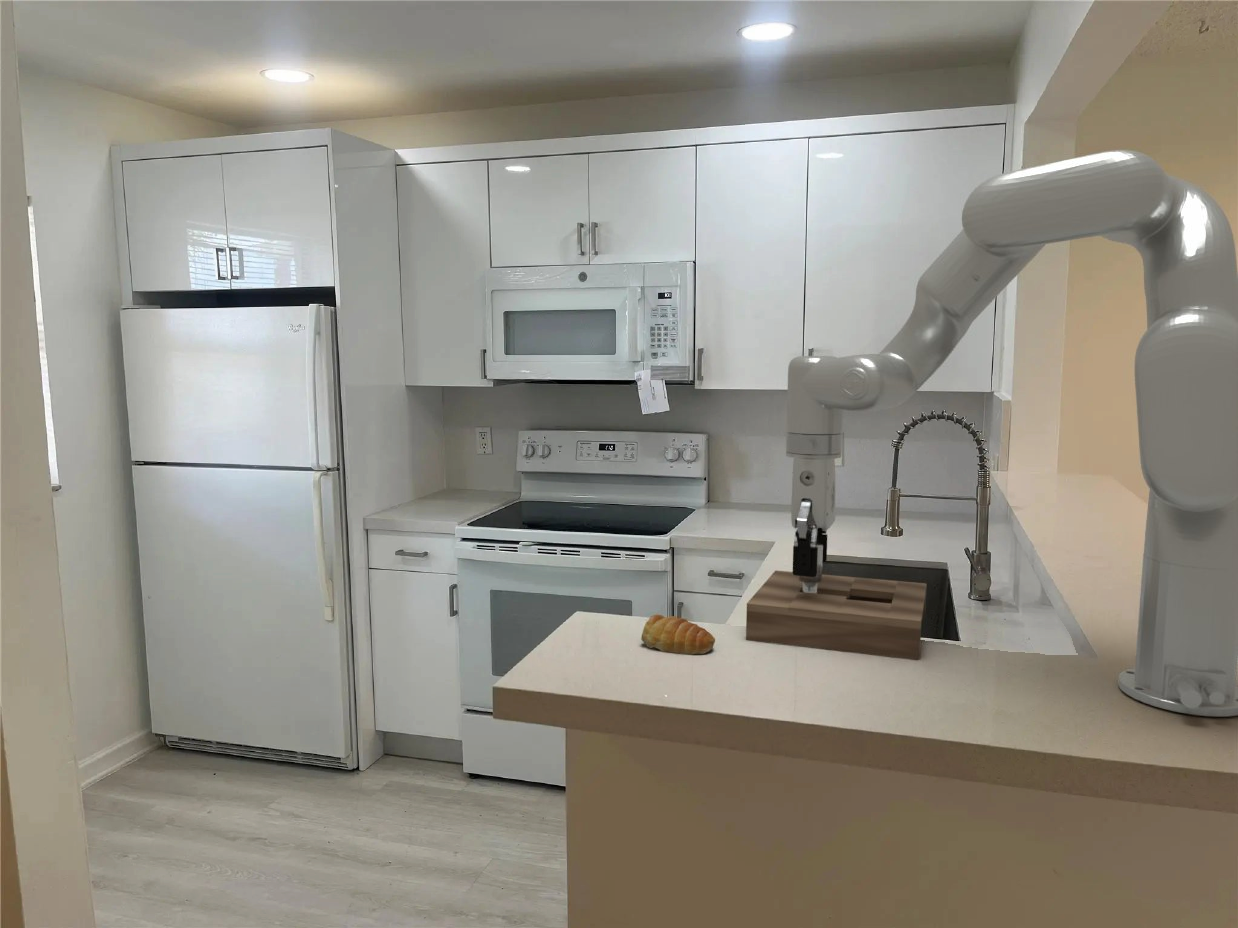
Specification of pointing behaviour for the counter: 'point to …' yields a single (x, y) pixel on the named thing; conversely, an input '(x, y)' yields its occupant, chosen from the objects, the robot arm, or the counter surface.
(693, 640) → the pastry
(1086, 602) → the counter surface
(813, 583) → the keyhole bolt
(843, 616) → the keyhole plate
